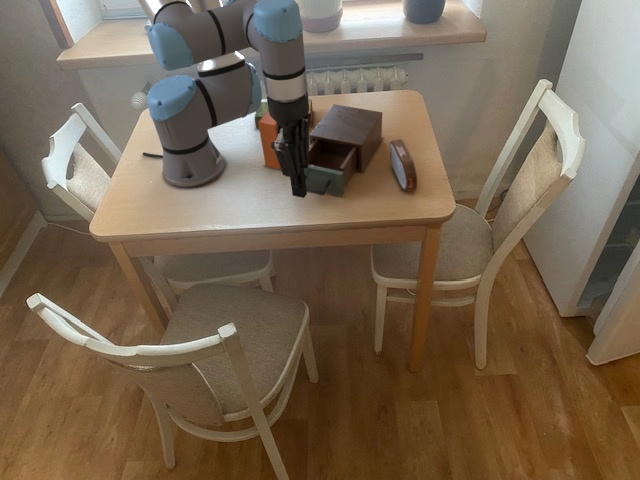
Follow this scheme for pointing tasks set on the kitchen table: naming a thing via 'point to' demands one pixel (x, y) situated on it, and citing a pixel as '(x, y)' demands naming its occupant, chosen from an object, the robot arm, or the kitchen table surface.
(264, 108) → the carton
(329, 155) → the drawer
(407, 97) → the kitchen table surface
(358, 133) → the cabinet
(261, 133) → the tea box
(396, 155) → the tin
